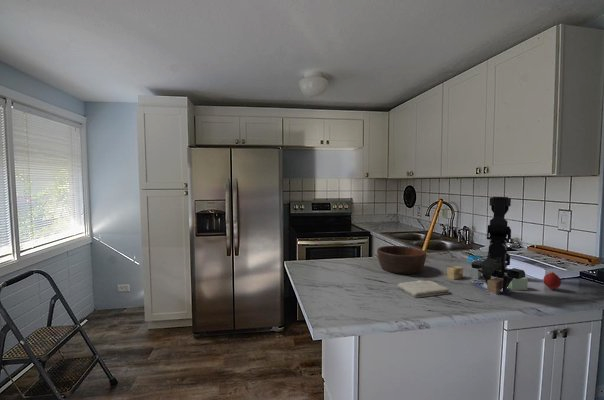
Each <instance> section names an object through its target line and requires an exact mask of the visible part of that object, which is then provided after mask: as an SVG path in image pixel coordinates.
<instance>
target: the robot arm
mask: <svg viewBox="0 0 604 400" xmlns="http://www.w3.org/2000/svg"><path fill="white" fill-rule="evenodd" d="M511 199H512V198H511V197H508V196H492V197H489V207H490V210H491V211H492V213H493V216H492V218H491V219H490V220H489V224H487V228H486V229H487V231H486V240H489V244H488V245H489V246H488V251H487V255H486V259H484V260H474V261H472V262H471V266H470V267H472V268H475V269H479V270H478V271H480V272H481V275H482V276H483V279H484V281H485V284H486V285H487V280H490V279H492V277H495V278H499V279H503V291H505V292H506V291H507V289H508V288H507V287H508V286H509V284H510V282H511V281H512V280H513V279H514V278H515V279H521V278H524V277H525V278H526V271H524V270H523V269H519V268H517V267H516V268H515V267H513V268H509V269H508V266H510V265H511V255H510V254H509V253H510V252H509V253H508V248H507V242H510V240H511V239H512V229H511V226H508V222H509V221H508V220H507V219H506V218H505V216H506V214H507V213H508V211H509V209H510V207H511V206H512V204H511V203H512V202H511V201H512V200H511Z"/></svg>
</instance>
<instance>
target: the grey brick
mask: <svg viewBox="0 0 604 400" xmlns="http://www.w3.org/2000/svg"><path fill="white" fill-rule="evenodd" d="M478 270H479V269H475V268H472V267H471V266H470V268H469V279H473V280H479V278H480V277H481V276H482V273H481V272H480V271H478Z"/></svg>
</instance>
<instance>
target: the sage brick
mask: <svg viewBox="0 0 604 400" xmlns="http://www.w3.org/2000/svg"><path fill="white" fill-rule="evenodd" d="M528 280H529V278H528V277H526V276H525V277H524V278H521V279H515V278H514V279H513V280H512V281H511V282H510V284H509V286H508V288H507V289H509V288H510V289H509V290H511V291H523V290H525V291H527V290H528V285H529V284H528Z"/></svg>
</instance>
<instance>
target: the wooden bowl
mask: <svg viewBox="0 0 604 400" xmlns="http://www.w3.org/2000/svg"><path fill="white" fill-rule="evenodd" d="M376 253H377V259H378V263H379V265H380V267H381V268H382V269H383V270H384V271H386V272H388V273H393V274H399V275H414V274H415V275H416V274H419V273H420V272H421V271H422V270H423V268H424V266H425V264H426V261H427V260H426V259H427V252H426V251H425V250H423V249H421V248H416V247H412V246H406V245H405V246H404V245H383V246H380V247H378V248H377V249H376Z"/></svg>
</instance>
